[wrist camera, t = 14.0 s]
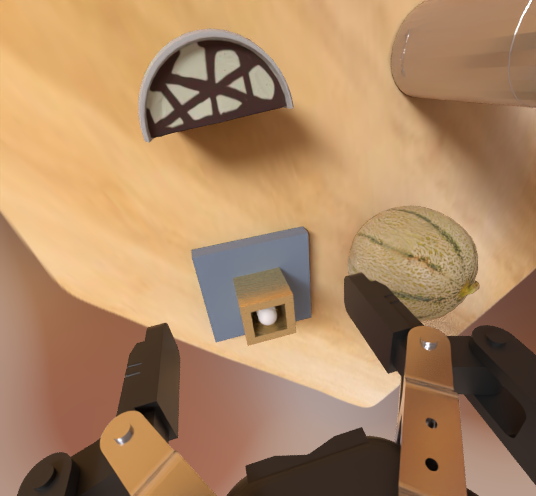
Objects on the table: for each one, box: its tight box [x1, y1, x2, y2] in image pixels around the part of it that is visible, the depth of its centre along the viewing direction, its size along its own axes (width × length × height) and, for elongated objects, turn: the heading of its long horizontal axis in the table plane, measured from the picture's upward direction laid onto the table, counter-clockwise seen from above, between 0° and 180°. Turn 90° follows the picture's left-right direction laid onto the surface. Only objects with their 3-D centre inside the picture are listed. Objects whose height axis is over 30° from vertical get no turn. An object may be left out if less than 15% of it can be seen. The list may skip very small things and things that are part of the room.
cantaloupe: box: [348, 206, 479, 321], centre depth 38 cm, size 15×15×15 cm
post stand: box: [192, 227, 311, 342], centre depth 40 cm, size 15×15×8 cm
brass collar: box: [233, 267, 296, 346], centre depth 39 cm, size 6×6×6 cm
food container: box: [139, 29, 293, 143], centre depth 25 cm, size 12×6×10 cm, turn 101°
